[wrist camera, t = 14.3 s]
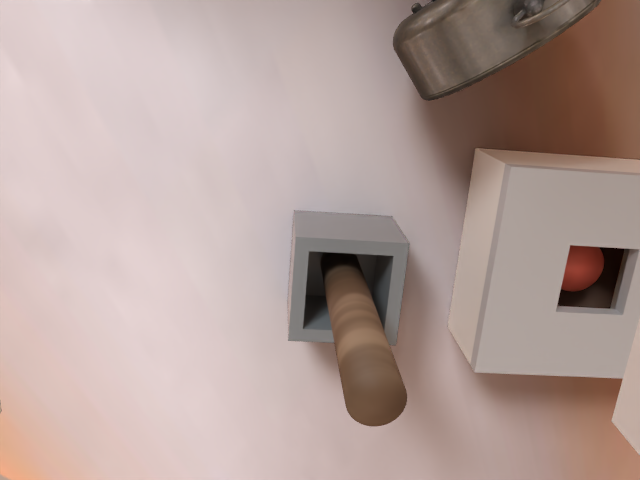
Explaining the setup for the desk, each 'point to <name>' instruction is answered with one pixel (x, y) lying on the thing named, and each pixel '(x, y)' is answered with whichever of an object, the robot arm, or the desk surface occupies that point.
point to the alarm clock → (477, 38)
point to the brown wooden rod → (361, 344)
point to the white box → (545, 263)
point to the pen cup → (375, 260)
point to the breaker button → (582, 267)
